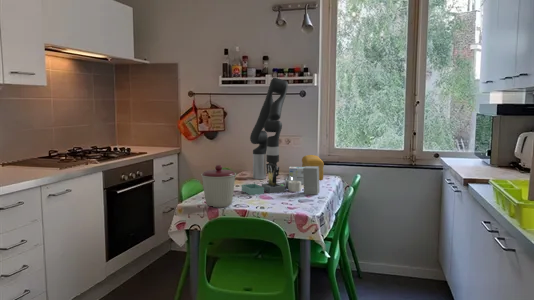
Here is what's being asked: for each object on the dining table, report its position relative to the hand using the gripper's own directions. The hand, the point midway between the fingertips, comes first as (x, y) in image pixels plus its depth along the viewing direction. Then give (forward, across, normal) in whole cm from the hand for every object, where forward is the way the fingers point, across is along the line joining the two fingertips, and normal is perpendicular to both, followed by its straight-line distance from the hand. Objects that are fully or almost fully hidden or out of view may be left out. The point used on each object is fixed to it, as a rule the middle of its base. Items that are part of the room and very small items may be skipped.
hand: (272, 181), depth 255 cm
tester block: (+5, 0, 0) cm, 5 cm away
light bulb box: (+6, +14, -24) cm, 29 cm away
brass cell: (+1, 0, 0) cm, 1 cm away
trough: (+5, 0, +13) cm, 14 cm away
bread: (+6, +31, -46) cm, 55 cm away
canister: (+5, -22, +40) cm, 46 cm away
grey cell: (+5, +2, -12) cm, 14 cm away
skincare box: (+5, -16, -18) cm, 25 cm away
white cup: (+5, -5, -12) cm, 14 cm away
